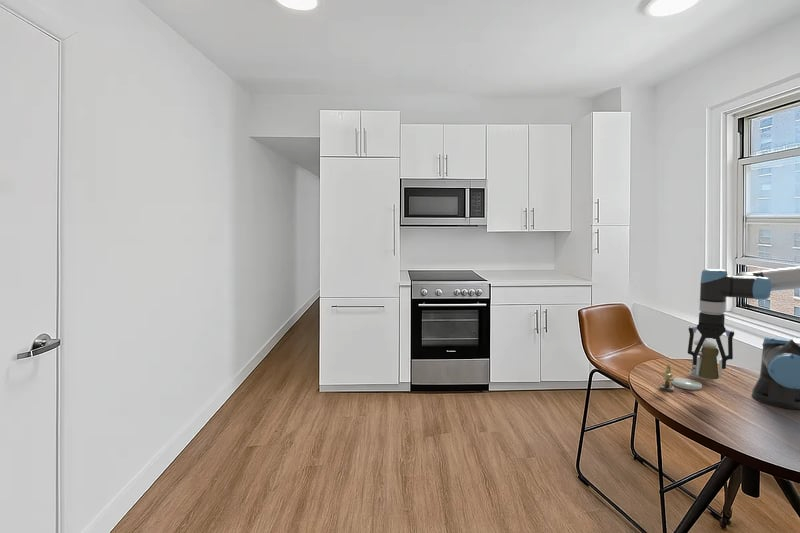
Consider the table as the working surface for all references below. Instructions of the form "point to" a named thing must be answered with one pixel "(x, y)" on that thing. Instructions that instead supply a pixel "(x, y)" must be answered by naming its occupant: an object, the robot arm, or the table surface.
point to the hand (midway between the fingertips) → (708, 375)
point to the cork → (709, 363)
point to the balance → (667, 379)
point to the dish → (687, 384)
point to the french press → (693, 372)
